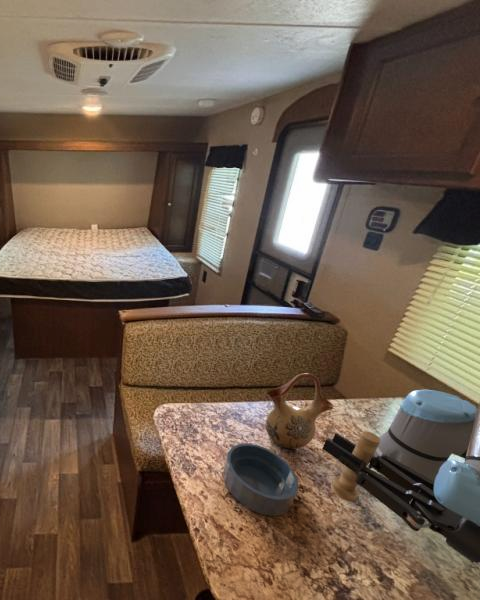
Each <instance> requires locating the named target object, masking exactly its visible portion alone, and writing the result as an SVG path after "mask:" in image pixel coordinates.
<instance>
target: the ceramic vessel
mask: <svg viewBox="0 0 480 600" xmlns="http://www.w3.org/2000/svg"><path fill="white" fill-rule="evenodd" d="M303 378H309V379H312V381H314V387H315V393H314V398H313V401H312V402H311V403H310V404H309V405H308V406H304V407H297V406H294V405H288V403H287V402H286V399H287V397H288V394H289V393H290V391H291V390H292V388H293V387H294V386H295V385H296V383H298V381H299V380H301V379H303ZM321 387H322V386H321V382H320V380H319V378H318V376H316V375H315V374H312V373H309V372H305V373H303V372H302V373H299V374H297V375H295V376H294V377H293V378H292V379H291V380H289V382H287V383H285V384H283V385H281V386H278V387H276V388H273V389H269V390H268V391H267V392H266V395H267V397H268V398H269V399H270V400H271V402H272V403H273V406H274V407H273V409H272V410H271V411H270V412H269V414H268V415H267V417H266V419H265V430H266V434H267V435H268V437H269V438H270V440H271V441H272V442H273V443H274V444H276V445H277V446H279V447H281V448H284V449H289V450H293V449H294V450H296V449H300V448H303V447H305V446H307V445H308V444H310V443H311V442H312V441H313V439H314V437H315V435H316V420H317V419H318V417H319V416H320V415H321V414H323V413H325V412H329V411H331V410H334V409H335V405H333V403H332V402H330V401H329V400H328V399H327V398H324V397H323V394H322V388H321Z"/></svg>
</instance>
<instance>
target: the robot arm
mask: <svg viewBox="0 0 480 600" xmlns="http://www.w3.org/2000/svg"><path fill="white" fill-rule="evenodd" d="M378 437H379V438H380V440H381V442H380V444H379V445H378V447H377V449H376V451H375V453H374V455H373V457H372V458H371V460H370V462H369V464H368V466H367V467H366V464H367V463H365V462H364V461H362V460H360V459H359V458H357V457H356V456H354V455H353V454H352V452H353V450H354V448H355V446H356V443H354V442H352V441H351V440H349V439H348V438H346V437H344V436H343V435H341V434H339V433H338V432H336V433H334V436H333V437H332V439H330V438H326V439H325V441H324V444H323V446H322V450H323V451H324V452H326V453H327V454H329V455H330V456H332V457H334V458H335V459H337V460H338V462H339V463H340V464H342V465H343V466H344V467H345V466H346V467H347V468H349V469H350V470H352V471H353V472H355V473H356V475H357V477H356V480H355V482H356V483H357V484H358V485H359V486H360V487H361V488H362V489H364V490H365V491H366V492H367V493H368V494H370V495H371V496H373V498H374V499H376V500H377V501H378V502H380V503H381V504H382V505H384V506H385V507H387V508H388V509H389V510H390V511H392V512H393V513H394V514H395V515H397V517H399V518H401V520H402V521H403V522H404V523H405V524H406V525H407V526H408V527H409V528H410V529H411V530H412V531H414V532H419V531H420V530H421V529H429V530H431V531H432V532H435V533H437V534H439V535H441V536H443V537H444V539H446V540H445V543H446V545H447V546H448V547H450V548H451V549H453V550H454V551H456V552H457V553H458V554H460V555H461V556H462V557H464V558H466V559H467V561H470V562H471V563H474V564H478V563H480V402H479V403H478V407H476V406H475V405H474V404H473V403H471V402H470V401H468V400H466V399H463V398H462V397H460V396H457V395H454V394H451V393H448V392H444V391H440V390H435V389H416V390H412V391H410V392H408V394H407V395H406V396H405V398H404V399H403V401H402V402H401V403H400V407H399V409H398V410H397V413H396V414H395V416H394V418H393V420H392V422H391V424H390V426H389V428H388V429H387V430H386V431H384V432H383V433H382V434H380V435H379V436H378ZM452 455H454V456H458V457H460V458H461V459H464V462H463V461H461V462H460V461H458V460H455V459H450V457H451V456H452ZM373 469H374V470H373ZM376 471H377V472H376ZM358 485H357V486H358Z"/></svg>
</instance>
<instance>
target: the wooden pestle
mask: <svg viewBox="0 0 480 600" xmlns="http://www.w3.org/2000/svg"><path fill="white" fill-rule="evenodd" d="M380 442H381V440H380V438H379V436H378V435H377V434H375V433H374V432H371V431H367V430H364V431H362V432H361V434H360V436H359V438H358V440H357V442H356V443H355V445H356V446H355V448H354V450H353V452H352V454H353V455H354V456H356V457H357V458H359V459H360V460H362V461H364V462H365V463H367V464H366V467H368V465H369V464H370V463H369V462H370V460H371V458H372V457H373V455H374V453H375V451H376V449H377V447H378V445H379V444H380ZM356 477H357V475H356V473H355V472H353V471H352V470H350V469H349V468H347V467H346V466H345V465H344V468H343V470H342V472H341V474H340V475H337V476H334V477H333V479H332V481H331V483H330V490H331V491H332V492H333V493H334V494H335V495H336V496H337V497H339V498H340V499H342V500H344V501H346V502H355V501H356V499H357V498H358V496H359V494H360V488H359V487H358V484H357V483H356V482H355V480H356Z"/></svg>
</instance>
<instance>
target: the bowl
mask: <svg viewBox="0 0 480 600" xmlns="http://www.w3.org/2000/svg"><path fill="white" fill-rule="evenodd" d="M223 464H224V465H223V468H222V469H223V470H222V478H223V481H224V482H223V483H224V485H225V486H226V488H227V489H228V491H229V493H230V494H231V495H232V496H233V497H234V498H235V499H236V500H237V502H239V503H240V504H241V505H243V506H245V507H246V508H247V509H248V510H251V511H253V512H255V513H257V514H260V515H265V516H268V517H269V516H270V517H278V516H283V515H284V514H286V513H288V512H289V511H290V509H291V507H292V505H293V503H294V500H295V498H296V495H297V493H298V491H299V490H300V489H299V488H300V487H299V478H298V477H297V474H296V472H295V470H294V468H292V467H291V465H290V464H289V463H288V462H287V461H286V459H284V458H283V457H281V456H280V455H279V454H278V453H276V452H274V451H272V450H271V449H269V448H267V447H264V446H261V445H258V444H254V443H248V442H245V443H244V442H243V443H238V444H235V445H233V446H232V447H230V449H229V450H228V451H227V454H226V457H225V461H224V463H223Z"/></svg>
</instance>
